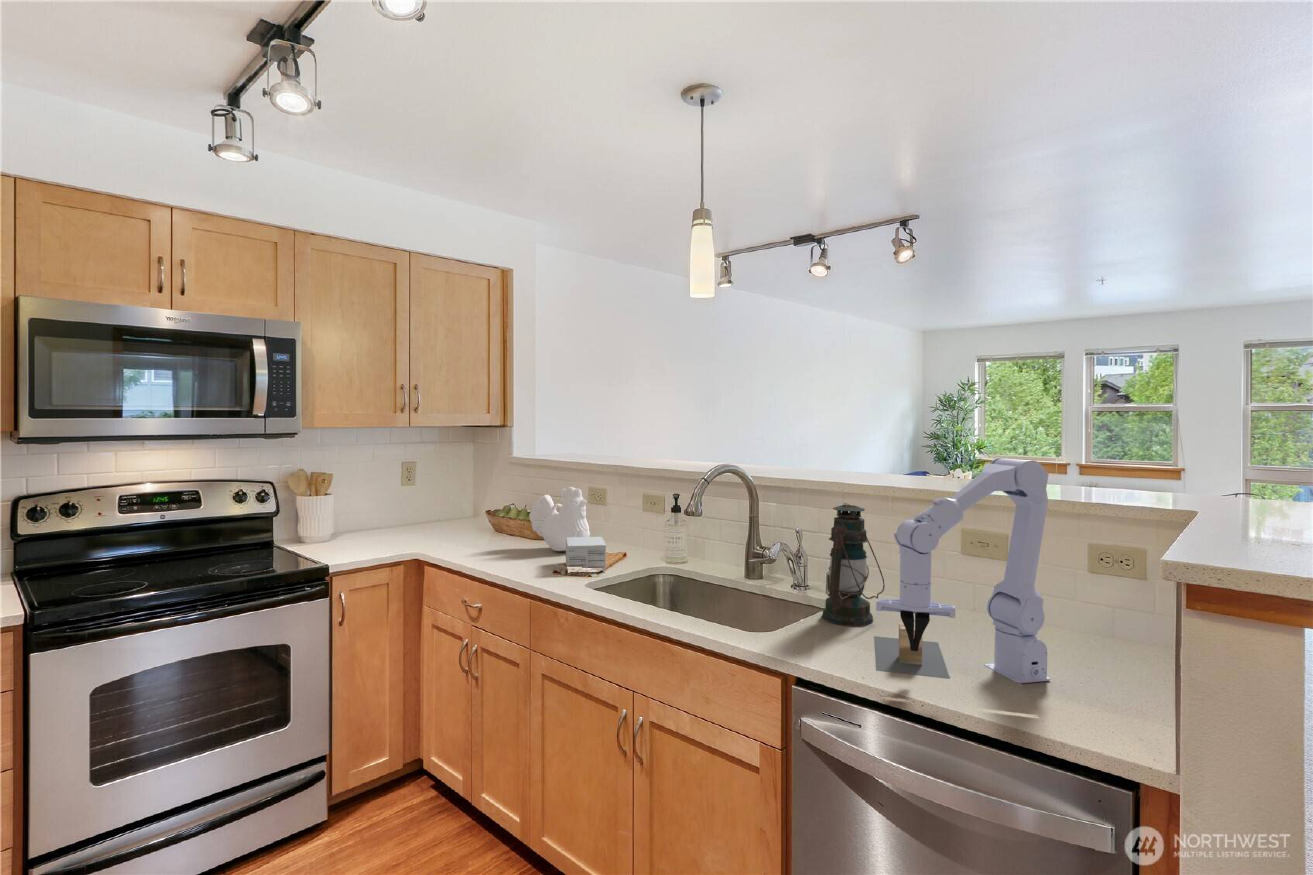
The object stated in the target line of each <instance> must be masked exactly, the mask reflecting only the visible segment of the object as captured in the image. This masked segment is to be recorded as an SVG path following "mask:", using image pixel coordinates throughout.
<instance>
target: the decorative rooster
mask: <svg viewBox="0 0 1313 875" xmlns="http://www.w3.org/2000/svg"><path fill="white" fill-rule="evenodd" d="M560 497H561V499H562V503H555V504H554V501H553V499H552V497H551V496H550V495H549V494H544V495H543V496H540V497H539V498H538V500H536V501H535V502H534V503H533V504H532V507H531V512H530V513H529V514H528V516H529V521H530V522H531V528H532V530H533V531H534V532H536V534H537V535H538V536H539V537H543V539H544V541H545V543H546V545H547V546H548V547H549V548H550V549H551V550H553V552H566V538H568V537H591V536H590V535H591V532H590V526H589V523H588V520H587V517H586V516H587V511H586V510H587V507H586V505H587V503H588V501H587V500H586V499H585V498H583V492H582V489H580V488H578V487H577V488H575V487H574V486H568V487H566V488H562V490H561V491H560ZM557 508H559V512H558V511H557Z"/></svg>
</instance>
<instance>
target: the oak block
mask: <svg viewBox="0 0 1313 875" xmlns="http://www.w3.org/2000/svg"><path fill="white" fill-rule="evenodd" d="M914 635H915V623H914ZM898 639H899V651H898V657H899V664H907V665H916V666H922V641H923V636H922V637H921V640H920V643H919V648H918V651H911V650H910V641H909V637H908V634H907V631H906V629H905V626H904V624H903V622H900V621H899V622H898Z"/></svg>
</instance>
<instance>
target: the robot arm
mask: <svg viewBox="0 0 1313 875" xmlns="http://www.w3.org/2000/svg"><path fill="white" fill-rule="evenodd" d="M1048 479H1049V472H1047V470H1046V469H1045V468H1044V466H1043V465H1042V464H1041V463H1040V462H1038V461H1037V460H1034V459H1027V460H1024V459H1013V458H1006V457H1003V456H1002V457H1000V456H999V457H995V458H994V459H992V460H991V461H990V462H989V463H987V464H985V465H983V468H982V471H981V472H980V473H979V474H977V475H976V476H974V478H973V479H971V481H969V482H968V483H967V484H965V486H964V487H962V488H961V489H960V490H959V491H957V493H955V494H954V495H953V496H951V498H948V497H941V498H938V497H937V498H935V499H933V500H932V503H933V504H932V505H930V506H929V507H927V508H926V509H925V510H923V511H922V512H921V513H917V514H915V515H914V519H906V520H904V521H902V522H901V523H900V524H899V525H898V527H897V529H896V532H894V534H893V536H894V540H895V542H896V544H897V545H898V548H899V552H898V553H899V554H900V556H899V557H900V558H899V560H900V561H899V599H884V598H883V599H881V598H878V599H877V598H875V600H876V601H875V602H876V603H875V607H876V608H875V611H876V612H894V613H900V620H901V621H902V622H901V623H903V624H904V626H905V629H906V631H907V634H908V637H909V641H910V650H911V651H918V648H919V643H920V640H921V637H922V638H923V634H924V632H925V630H926V629H927V627H928V625H929V624H930V620H931V618H930V616H938V617H948V618H951V619H956V607H955V605H951V604H950V605H949V604H942V603H937V602H931V598H932V597H931V596H932V595H931V594H932V592H931V590H932V589H931V588H932V551H934V550H936V548H937V547H938V545H939V541H940V539H941V538H942V537H943V536H944V535H945V534H947V533H948V532H949V531H950V530H951V529H953V528H955V526H957V525H958V524H959V523H960V522H962V521H963V520H964V519H963V518H964V512H965V511H966V510H968V509H970V508H971V507H973V506H974V505H976V504H977V503H979V502H980V501H982V500H983V499H986V498H987V497H988V496H990V495H991V494H993V493H994V492H1003V493H1004V494H1006V495H1007V496H1008V498H1010V500H1011V501H1012V502H1013V503H1014V504H1015V511H1014V517H1013V518H1014V519H1013V524H1012V530H1011V536H1010V542H1009V546H1008V553H1007V559H1006V560H1007V561H1006V566H1005V572H1004V576H1003V579H1002V581H999V582H998V583H996V584H995V585H994V586H993V587H994V588H993V590H992V591H993V592H992V594H991V596H990V597H989V599H988V601H987V603H986V604H987V605H986V610H987V613H988V616H989V617H990V618H991V619H992V626H993V625H994V652H993V653H994V654H993V655H994V657H993V658H994V659H993V660H994V661H993V663H985V664H984V665H983V666H985V667H986V668H988V669H991V670H993V671H994V672H996V673H998V674H999V675H1002V676H1004V677H1006V678H1008V679H1010V680H1011V681H1013V682H1016V683H1020V684H1026V683H1027V684H1029V683H1037V682H1040V683H1041V682H1047V681H1051V678H1050V677H1049V676H1048V648H1047V645H1046V643H1045V642H1044V641H1042V640H1041V639H1039V638H1038V636H1037V635H1038V632H1039V631H1040V630H1041V629H1042V627H1043V625H1044V623H1045V612H1044V608H1043V607H1044V606H1043V605H1044V598H1043V597H1042V595H1041V594H1040V592H1039V591H1038V590H1037V588H1036V587H1035V582H1036V578H1037V571H1038V565H1039V559H1040V553H1041V546H1042V542H1043V541H1042V540H1043V534H1044V530H1045V529H1044V528H1045V523H1046V522H1045V521H1046V516H1047V510H1048V504H1049V497H1048V493H1047V486H1048ZM914 624H915V635H914Z"/></svg>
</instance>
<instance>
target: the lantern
mask: <svg viewBox="0 0 1313 875" xmlns="http://www.w3.org/2000/svg"><path fill="white" fill-rule="evenodd" d="M832 509H833V510H835V511H836V517H833V518H834V519H833V527H831V531H830V532H831V533H830V537H829V538H828V540H829V541H831V542H832V548H831V549H830V553H829V556H830V563H829V567H828V572H829V573H828V575H829V577H828V578H829V581H830V582H829V592H828V594H827V596H828V597H827V598H825V604H824V605H825V607H824V609H823V610H822V615H821V617H822V619H823V620H824V621H827V622H829V623H832V624H836V625H839V626H845V627H862V626H867V625H870V624H872V623H873V622H874V619H873V618H874V616H873V614H872V613H871V602H870V601H868V600H871V599H874V598H875V599H879V595H881V594H882V593H883V592H884V591H885V588H886V585H885V579H884V576H883V572H882V569H881V568H880V565H879V562H878V559H877V557H876V555H875V552H874V550H873V548H872V545H871V543H870V541H869V538H868V537H867V536H868V535H867V530H866V529H865V519H864V518H862V515H861V513H862V512H865V510H866V508H863V507H859V506H857V505H853V504H852V505H851V504H849V503H847V502H845V503H844V504H843V505H837V506H834V507H832ZM865 543H868V546H869V549H870V550H871V553H872V555H873V557H874V560H875V562H876V566H877V568H878V570H879V573H880V576H881V578H882V584H883V585H882V590H881V591H880V592H878V593H877V594H876V595H873V596H869V597H868V596H866V595H865V594H864V593H863V592H864V589H865V585H866V584H865V583H867V580H868V579H869V578H868V577H869V574H870V568H869V566H868V564H867V558H868V556H867V551H866V550H865V549H864V544H865ZM862 596H863V597H864V598H863V597H862Z"/></svg>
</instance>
